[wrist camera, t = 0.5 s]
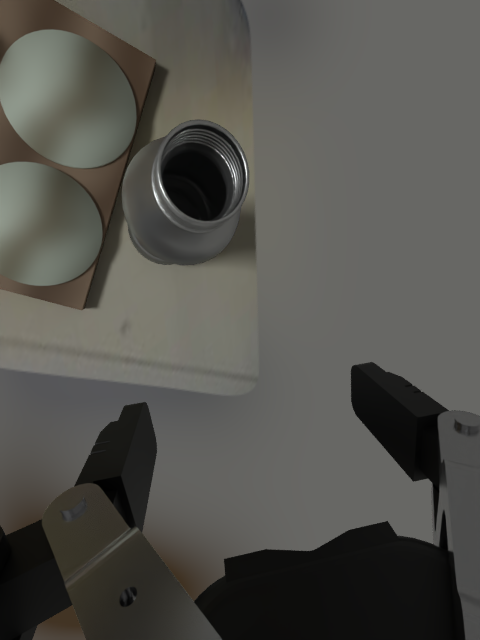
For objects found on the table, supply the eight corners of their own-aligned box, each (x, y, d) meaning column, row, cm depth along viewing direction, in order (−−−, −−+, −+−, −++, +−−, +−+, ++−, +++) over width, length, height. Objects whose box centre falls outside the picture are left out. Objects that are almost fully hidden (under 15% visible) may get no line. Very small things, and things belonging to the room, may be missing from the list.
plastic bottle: (196, 200, 30) (291, 95, 12) (193, 267, 31) (275, 271, 13) (128, 189, 28) (112, 42, 10) (127, 262, 29) (110, 258, 11)
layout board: (-141, 249, 23) (-198, 245, 19) (-67, -59, 22) (-112, -131, 18) (84, 308, 29) (75, 315, 25) (155, 68, 27) (158, 35, 23)
